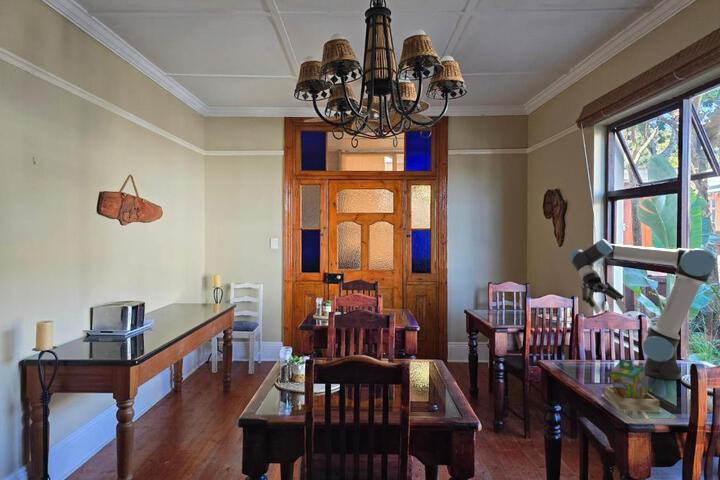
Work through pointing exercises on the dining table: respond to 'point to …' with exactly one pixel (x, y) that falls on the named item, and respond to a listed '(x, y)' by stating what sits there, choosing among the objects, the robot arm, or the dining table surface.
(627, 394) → the chalk box
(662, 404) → the dining table surface
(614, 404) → the mat
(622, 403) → the tray
